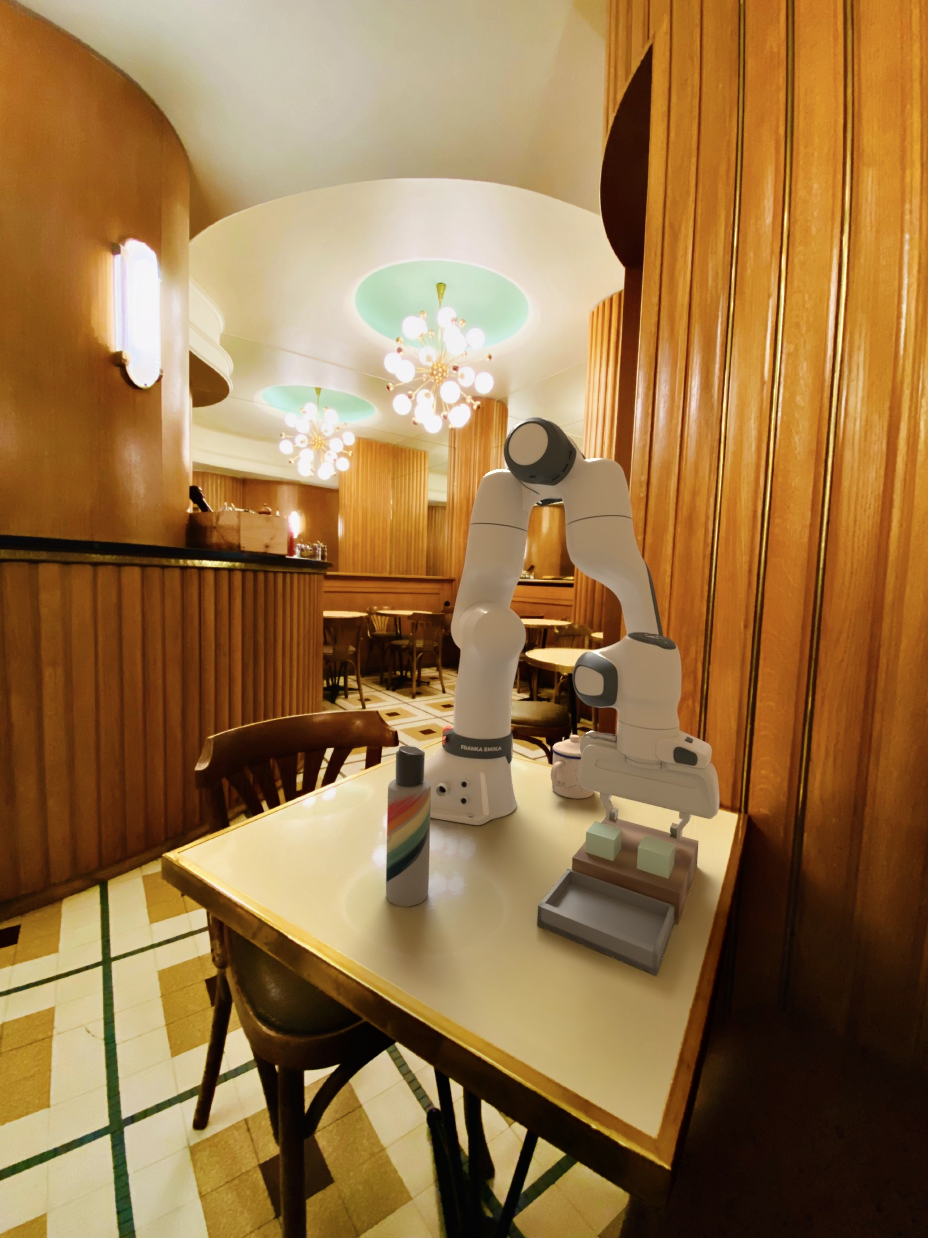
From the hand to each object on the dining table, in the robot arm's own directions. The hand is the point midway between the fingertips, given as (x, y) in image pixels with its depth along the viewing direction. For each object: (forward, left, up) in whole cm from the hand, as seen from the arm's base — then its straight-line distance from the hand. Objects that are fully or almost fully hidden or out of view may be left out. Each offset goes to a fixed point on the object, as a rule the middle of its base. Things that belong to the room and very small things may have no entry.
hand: (642, 829), depth 75 cm
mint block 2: (-1, -8, -1) cm, 9 cm away
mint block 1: (-7, -5, -1) cm, 9 cm away
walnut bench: (-2, -4, -5) cm, 7 cm away
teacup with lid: (-8, +25, -5) cm, 27 cm away
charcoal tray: (-8, -16, -5) cm, 18 cm away
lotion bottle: (-34, -13, -5) cm, 37 cm away
